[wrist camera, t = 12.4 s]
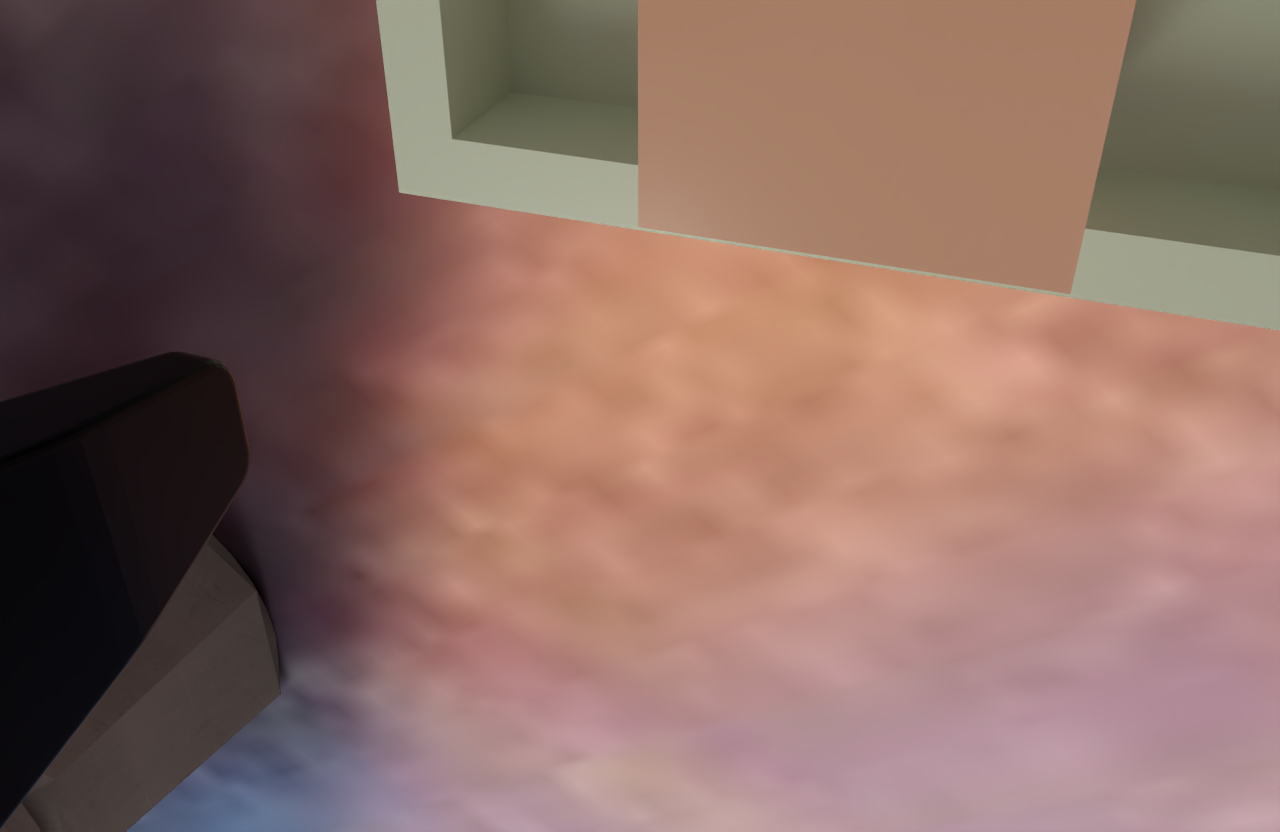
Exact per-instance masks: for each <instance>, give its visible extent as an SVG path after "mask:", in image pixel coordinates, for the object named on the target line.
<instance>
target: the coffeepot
mask: <svg viewBox="0 0 1280 832" xmlns="http://www.w3.org/2000/svg"><path fill="white" fill-rule="evenodd" d="M280 694H281V691H280V675H279V660H278V651H277V642H276V635H275V632H274V629H273V626H272V623H271V620H270V617H269V614H268V611H267V609H266V607H265V605H264V603H263V601H262V599H261V598H260V596H259V594H258V592H257V590H256V588H255V586H254V584H253V583H252V581H251V580H250V579H249V577H248V576H247V575H246V573H245V572H244V570H243V569H242V568H241V566H240V565H239V564H238V562H237V561H236V560H235V558H234V557H233V556H232V555H231V554H230V552H229V551H228V550H227V549H226V548H225V547H224V546H223V545H222V544H221V543H220V542H219V541H218V540H217V539H216V538H215V537H214V535H213V534H212V535H211V536H210V538H209V540H208V541H207V543H206V544H205V546H204V548H203V549H202V551H201V553H200V554H199V556H198V557H197V559H196V561H195V562H194V564H193V565H192V567H191V569H190V570H189V572H188V573H187V575H186V577H185V578H184V580H183V582H182V583H181V585H180V586H179V588H178V590H177V591H176V593H175V594H174V596H173V598H172V599H171V601H170V602H169V604H168V606H167V607H166V609H165V611H164V612H163V614H162V615H161V617H160V618H159V620H158V621H157V623H156V624H155V626H154V627H153V629H152V631H151V632H150V634H149V635H148V637H147V638H146V640H145V641H144V643H143V644H142V645H141V647H140V648H139V650H138V651H137V652H136V654H135V655H134V656H133V658H132V659H131V660H130V662H129V663H128V665H127V666H126V667H125V669H124V670H123V671H122V673H121V674H120V675H119V676H118V678H117V679H116V680H115V682H114V683H113V684H112V686H111V687H110V688H109V689H108V691H107V692H106V693H105V695H104V696H103V697H102V699H101V700H100V701H99V702H98V704H97V705H96V706H95V708H94V709H93V710H92V712H91V713H90V714H89V715H88V717H87V718H86V719H85V721H84V722H83V723H82V725H81V726H80V727H79V728H78V730H77V731H76V732H75V734H74V735H73V736H72V738H71V739H70V740H69V741H68V743H67V744H66V745H65V747H64V748H63V749H62V750H61V752H60V753H59V754H58V756H57V757H56V758H55V760H54V761H53V762H52V763H51V765H50V766H49V767H48V769H47V770H46V771H45V773H44V774H43V775H42V776H41V778H40V779H39V780H38V782H37V783H36V784H35V786H34V787H33V788H32V789H31V791H30V792H29V793H28V795H27V796H26V797H25V799H24V800H23V801H22V802H21V804H20V805H19V806H18V808H17V809H16V810H15V812H14V813H13V814H12V815H11V817H10V818H9V819H8V821H7V822H6V823H5V825H4V826H3V827H2V828H1V830H0V832H126V831H127V830H128V829H129V828H130V827H131V826H132V825H134V824H135V823H136V822H137V821H138V820H139V819H140V818H141V817H143V816H144V815H145V814H146V813H147V812H148V811H149V810H150V809H152V808H153V807H154V806H155V805H156V804H157V803H158V802H160V801H161V800H162V799H163V798H164V797H165V796H166V795H167V794H169V793H170V792H171V791H172V790H173V789H174V788H175V787H176V786H178V785H179V784H180V783H181V782H182V781H183V780H184V779H185V778H187V777H188V776H189V775H190V774H191V773H192V772H193V771H194V770H196V769H197V768H198V767H199V766H200V765H201V764H202V763H203V762H205V761H206V760H207V759H208V758H209V757H210V756H211V755H212V754H214V753H215V752H216V751H217V750H218V749H219V748H220V747H221V746H223V745H224V744H225V743H226V742H227V741H228V740H229V739H230V738H232V737H233V736H234V735H235V734H236V733H237V732H238V731H239V730H241V729H242V728H243V727H244V726H245V725H246V724H247V723H248V722H250V721H251V720H252V719H253V718H254V717H255V716H256V715H257V714H259V713H260V712H261V711H262V710H263V709H264V708H265V707H266V706H268V705H269V704H270V703H271V702H272V701H273V700H274V699H275V698H277V697H278V696H279V695H280Z"/></svg>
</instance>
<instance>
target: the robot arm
mask: <svg viewBox="0 0 1280 832" xmlns="http://www.w3.org/2000/svg"><path fill="white" fill-rule="evenodd" d="M249 461H250V451H249V445H248V440H247V435H246V431H245V426H244V421H243V417H242V412H241V407H240V403H239V398H238V393H237V389H236V384H235V380H234V377H233V374H232V373H231V371H230V370H229V368H228V367H227V366H226V365H225V364H223V363H222V362H220V361H218V360H215V359H211V358H206V357H202V356H197V355H193V354H188V353H183V352H169V353H165V354H161V355H158V356H154V357H151V358H148V359H144V360H141V361H137V362H134V363H131V364H127V365H124V366H120V367H117V368H114V369H110V370H107V371H103V372H100V373H97V374H93V375H90V376H86V377H83V378H80V379H76V380H73V381H69V382H66V383H62V384H59V385H56V386H52V387H49V388H45V389H42V390H39V391H35V392H32V393H28V394H25V395H22V396H18V397H15V398H11V399H8V400H5V401H1V402H0V830H1V828H2V827H3V826H4V825H5V823H6V822H7V821H8V819H9V818H10V817H11V815H12V814H13V813H14V812H15V810H16V809H17V808H18V806H19V805H20V804H21V802H22V801H23V800H24V799H25V797H26V796H27V795H28V793H29V792H30V791H31V789H32V788H33V787H34V786H35V784H36V783H37V782H38V780H39V779H40V778H41V776H42V775H43V774H44V773H45V771H46V770H47V769H48V767H49V766H50V765H51V763H52V762H53V761H54V760H55V758H56V757H57V756H58V754H59V753H60V752H61V750H62V749H63V748H64V747H65V745H66V744H67V743H68V741H69V740H70V739H71V738H72V736H73V735H74V734H75V732H76V731H77V730H78V728H79V727H80V726H81V725H82V723H83V722H84V721H85V719H86V718H87V717H88V715H89V714H90V713H91V712H92V710H93V709H94V708H95V706H96V705H97V704H98V702H99V701H100V700H101V699H102V697H103V696H104V695H105V693H106V692H107V691H108V689H109V688H110V687H111V686H112V684H113V683H114V682H115V680H116V679H117V678H118V676H119V675H120V674H121V673H122V671H123V670H124V669H125V667H126V666H127V665H128V663H129V662H130V660H131V659H132V658H133V656H134V655H135V654H136V652H137V651H138V650H139V648H140V647H141V645H142V644H143V643H144V641H145V640H146V638H147V637H148V635H149V634H150V632H151V631H152V629H153V627H154V626H155V624H156V623H157V621H158V620H159V618H160V617H161V615H162V614H163V612H164V611H165V609H166V607H167V606H168V604H169V602H170V601H171V599H172V598H173V596H174V594H175V593H176V591H177V590H178V588H179V586H180V585H181V583H182V582H183V580H184V578H185V577H186V575H187V573H188V572H189V570H190V569H191V567H192V565H193V564H194V562H195V561H196V559H197V557H198V556H199V554H200V553H201V551H202V549H203V548H204V546H205V544H206V543H207V541H208V540H209V538H210V536H211V535H212V533H213V532H214V530H215V528H216V527H217V525H218V524H219V522H220V520H221V519H222V517H223V515H224V514H225V512H226V511H227V509H228V507H229V506H230V504H231V503H232V501H233V499H234V498H235V496H236V495H237V493H238V491H239V490H240V488H241V486H242V484H243V482H244V480H245V478H246V475H247V472H248V467H249Z"/></svg>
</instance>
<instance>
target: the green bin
mask: <svg viewBox="0 0 1280 832" xmlns="http://www.w3.org/2000/svg"><path fill="white" fill-rule="evenodd" d="M376 3H377V12H378V20H379V28H380V36H381V45H382V53H383V61H384V70H385V78H386V86H387V95H388V103H389V111H390V120H391V128H392V136H393V145H394V153H395V161H396V169H397V178H398V186H399V193H406V194H412V195H418V196H425V197H431V198H438V199H444V200H450V201H457V202H463V203H470V204H476V205H482V206H489V207H495V208H501V209H508V210H514V211H521V212H527V213H533V214H540V215H546V216H552V217H559V218H565V219H572V220H578V221H584V222H591V223H597V224H603V225H610V226H616V227H623V228H629V229H635V230H642V231H648V232H654V233H661V234H667V235H674V236H680V237H686V238H693V239H699V240H705V241H712V242H718V243H725V244H731V245H737V246H744V247H750V248H757V249H763V250H769V251H776V252H782V253H788V254H795V255H801V256H808V257H814V258H820V259H827V260H833V261H839V262H846V263H852V264H859V265H865V266H871V267H878V268H884V269H890V270H897V271H903V272H910V273H916V274H922V275H929V276H935V277H941V278H948V279H954V280H961V281H967V282H973V283H980V284H986V285H993V286H999V287H1005V288H1012V289H1018V290H1024V291H1031V292H1037V293H1044V294H1050V295H1056V296H1063V297H1069V298H1075V299H1082V300H1088V301H1095V302H1101V303H1107V304H1114V305H1120V306H1126V307H1133V308H1139V309H1146V310H1152V311H1158V312H1165V313H1171V314H1177V315H1184V316H1190V317H1197V318H1203V319H1209V320H1216V321H1222V322H1228V323H1235V324H1241V325H1248V326H1254V327H1260V328H1267V329H1273V330H1280V0H1136V4H1135V9H1134V13H1133V18H1132V22H1131V27H1130V31H1129V36H1128V40H1127V44H1126V49H1125V53H1124V58H1123V62H1122V67H1121V71H1120V76H1119V80H1118V84H1117V89H1116V93H1115V98H1114V102H1113V107H1112V111H1111V116H1110V120H1109V125H1108V129H1107V133H1106V138H1105V142H1104V147H1103V151H1102V156H1101V160H1100V165H1099V169H1098V173H1097V178H1096V182H1095V187H1094V191H1093V196H1092V200H1091V205H1090V209H1089V213H1088V218H1087V222H1086V227H1085V231H1084V236H1083V240H1082V245H1081V249H1080V254H1079V258H1078V262H1077V267H1076V271H1075V276H1074V280H1073V285H1072V289H1071V294H1066V293H1059V292H1053V291H1046V290H1040V289H1033V288H1027V287H1021V286H1014V285H1008V284H1001V283H995V282H988V281H982V280H976V279H969V278H963V277H956V276H950V275H943V274H937V273H931V272H924V271H918V270H911V269H905V268H898V267H892V266H886V265H879V264H873V263H866V262H860V261H853V260H847V259H841V258H834V257H828V256H821V255H815V254H808V253H802V252H796V251H789V250H783V249H776V248H770V247H763V246H757V245H751V244H744V243H738V242H731V241H725V240H718V239H712V238H706V237H699V236H693V235H686V234H680V233H673V232H667V231H661V230H654V229H648V228H641V227H638V0H376Z"/></svg>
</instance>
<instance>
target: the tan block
mask: <svg viewBox="0 0 1280 832" xmlns="http://www.w3.org/2000/svg"><path fill="white" fill-rule="evenodd" d="M1135 4H1136V0H638V227H641V228H648V229H654V230H661V231H667V232H673V233H680V234H686V235H693V236H699V237H706V238H712V239H718V240H725V241H731V242H738V243H744V244H751V245H757V246H763V247H770V248H776V249H783V250H789V251H796V252H802V253H808V254H815V255H821V256H828V257H834V258H841V259H847V260H853V261H860V262H866V263H873V264H879V265H886V266H892V267H898V268H905V269H911V270H918V271H924V272H931V273H937V274H943V275H950V276H956V277H963V278H969V279H976V280H982V281H988V282H995V283H1001V284H1008V285H1014V286H1021V287H1027V288H1033V289H1040V290H1046V291H1053V292H1059V293H1066V294H1071V289H1072V285H1073V280H1074V276H1075V271H1076V267H1077V262H1078V258H1079V254H1080V249H1081V245H1082V240H1083V236H1084V231H1085V227H1086V222H1087V218H1088V213H1089V209H1090V205H1091V200H1092V196H1093V191H1094V187H1095V182H1096V178H1097V173H1098V169H1099V165H1100V160H1101V156H1102V151H1103V147H1104V142H1105V138H1106V133H1107V129H1108V125H1109V120H1110V116H1111V111H1112V107H1113V102H1114V98H1115V93H1116V89H1117V84H1118V80H1119V76H1120V71H1121V67H1122V62H1123V58H1124V53H1125V49H1126V44H1127V40H1128V36H1129V31H1130V27H1131V22H1132V18H1133V13H1134V9H1135Z"/></svg>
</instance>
